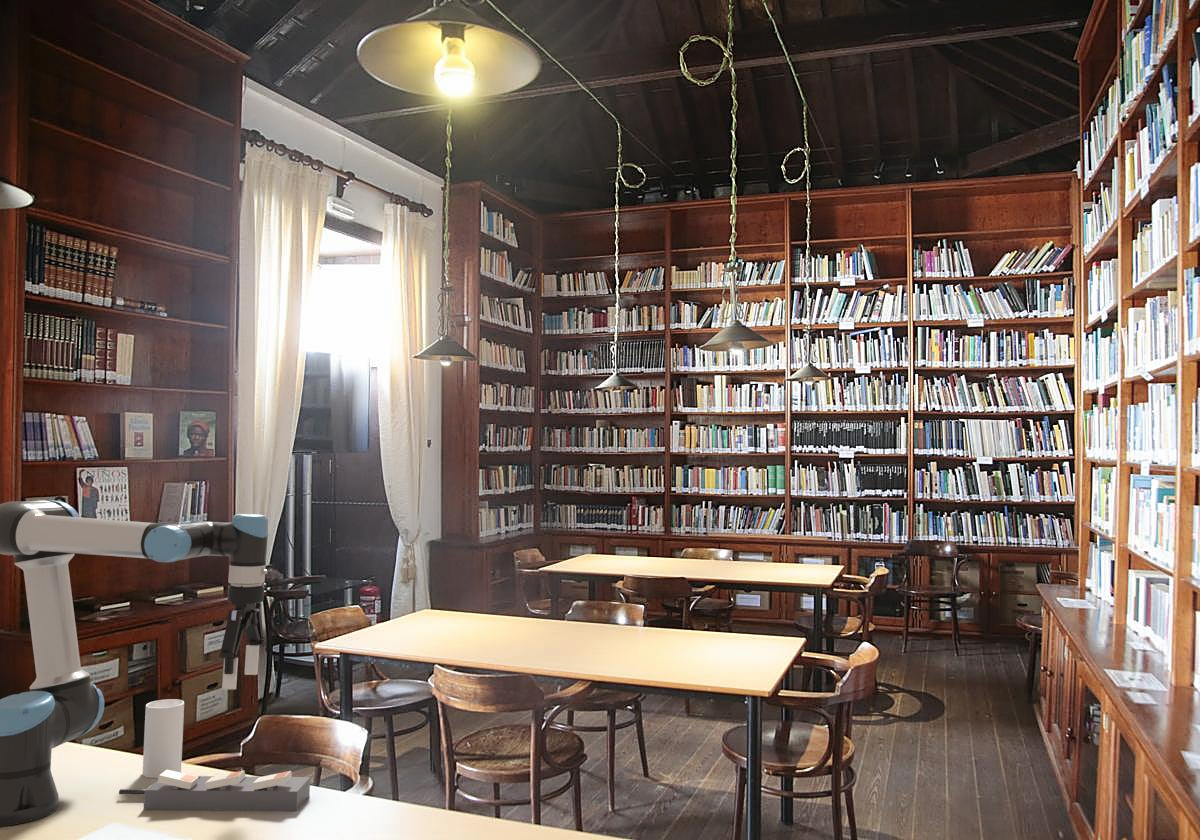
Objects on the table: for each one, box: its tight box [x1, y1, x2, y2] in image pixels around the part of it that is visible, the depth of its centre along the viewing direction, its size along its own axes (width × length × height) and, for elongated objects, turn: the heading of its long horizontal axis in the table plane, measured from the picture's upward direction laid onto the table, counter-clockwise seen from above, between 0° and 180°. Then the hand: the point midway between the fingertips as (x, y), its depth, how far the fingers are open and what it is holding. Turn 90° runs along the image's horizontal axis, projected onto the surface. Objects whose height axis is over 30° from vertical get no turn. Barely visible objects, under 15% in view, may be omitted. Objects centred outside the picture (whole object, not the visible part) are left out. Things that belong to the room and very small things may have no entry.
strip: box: [118, 775, 311, 812], centre depth 193 cm, size 40×9×4 cm, turn 91°
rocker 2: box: [205, 770, 246, 790], centre depth 191 cm, size 7×4×2 cm, turn 92°
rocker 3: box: [253, 770, 293, 790], centre depth 191 cm, size 7×4×2 cm, turn 92°
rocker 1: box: [157, 770, 199, 789], centre depth 191 cm, size 7×4×2 cm, turn 91°
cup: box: [142, 698, 185, 779], centre depth 212 cm, size 8×8×16 cm
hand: (240, 681), depth 197 cm, fingers open, 13 cm apart
